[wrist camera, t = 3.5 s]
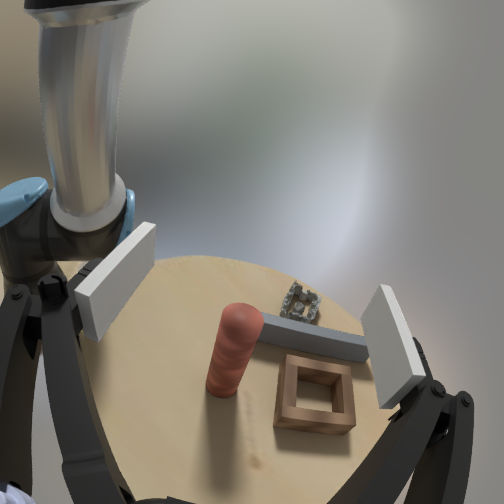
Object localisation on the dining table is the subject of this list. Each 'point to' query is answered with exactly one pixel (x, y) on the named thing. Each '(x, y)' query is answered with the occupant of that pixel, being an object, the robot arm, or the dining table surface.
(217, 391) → the dowel
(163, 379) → the dining table surface
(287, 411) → the socket block
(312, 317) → the grey rough frame
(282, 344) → the backstop wall
